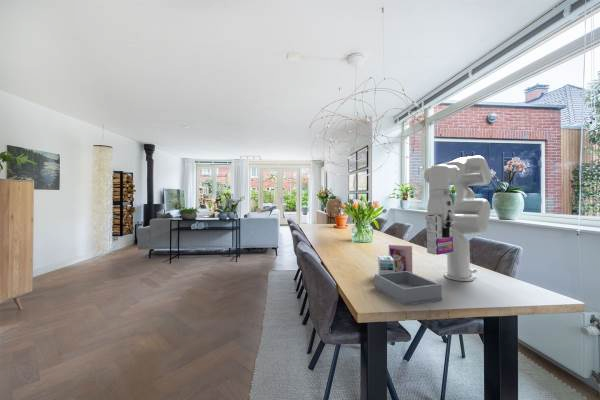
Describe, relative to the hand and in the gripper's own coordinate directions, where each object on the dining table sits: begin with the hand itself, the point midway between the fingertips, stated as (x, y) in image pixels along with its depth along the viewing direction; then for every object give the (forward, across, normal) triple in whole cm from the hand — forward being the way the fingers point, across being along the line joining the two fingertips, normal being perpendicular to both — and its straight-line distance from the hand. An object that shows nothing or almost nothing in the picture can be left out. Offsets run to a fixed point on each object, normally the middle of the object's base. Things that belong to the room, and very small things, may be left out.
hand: (439, 236), depth 109 cm
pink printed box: (+24, +25, 0) cm, 34 cm away
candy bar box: (+7, 0, 0) cm, 7 cm away
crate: (+24, +2, +16) cm, 28 cm away
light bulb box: (+24, +21, +12) cm, 34 cm away
